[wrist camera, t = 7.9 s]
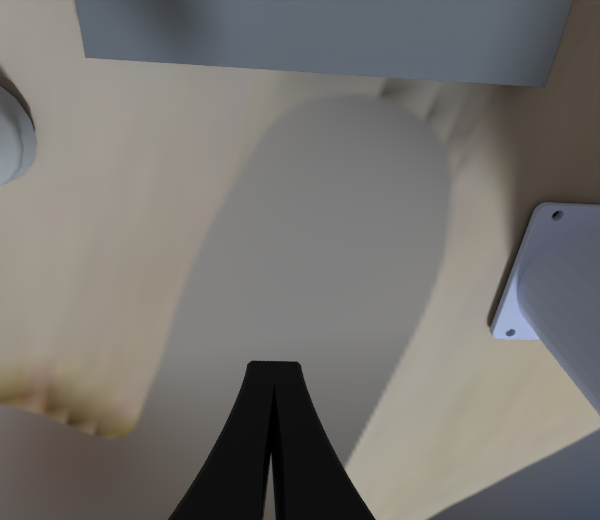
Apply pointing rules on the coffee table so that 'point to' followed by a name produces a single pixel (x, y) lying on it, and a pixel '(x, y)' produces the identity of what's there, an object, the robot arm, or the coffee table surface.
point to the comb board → (336, 36)
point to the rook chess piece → (14, 139)
